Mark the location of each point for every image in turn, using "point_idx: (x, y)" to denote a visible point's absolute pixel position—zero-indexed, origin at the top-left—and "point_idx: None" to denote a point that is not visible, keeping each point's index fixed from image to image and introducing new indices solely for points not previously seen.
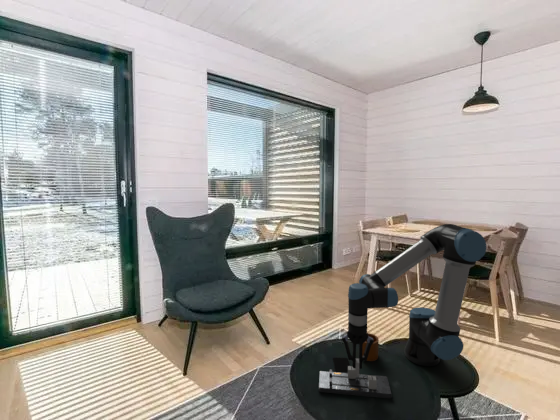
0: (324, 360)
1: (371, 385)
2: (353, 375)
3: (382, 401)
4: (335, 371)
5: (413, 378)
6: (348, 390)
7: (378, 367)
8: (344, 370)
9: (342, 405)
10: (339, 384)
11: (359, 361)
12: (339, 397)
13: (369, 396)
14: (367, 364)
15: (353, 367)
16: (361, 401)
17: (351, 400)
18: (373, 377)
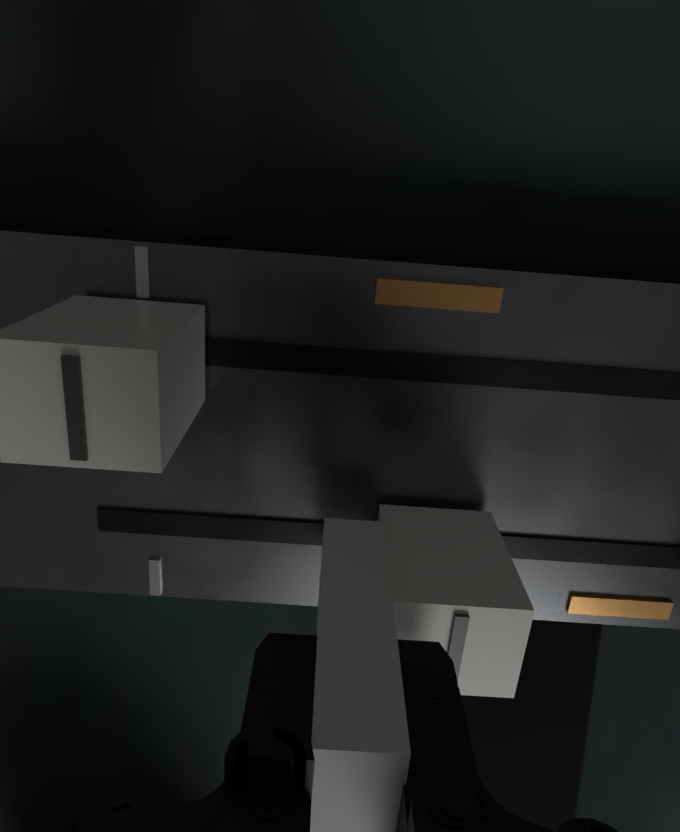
0: (671, 812)
1: (135, 317)
2: (417, 538)
3: (28, 144)
4: (592, 660)
5: None
6: (538, 272)
7: (48, 738)
8: None
9: (671, 12)
10: (658, 387)
11: (309, 780)
12: (668, 195)
13: (212, 238)
14: (174, 774)
15: (434, 652)
16: (348, 125)
17: (499, 139)
18: (46, 421)
